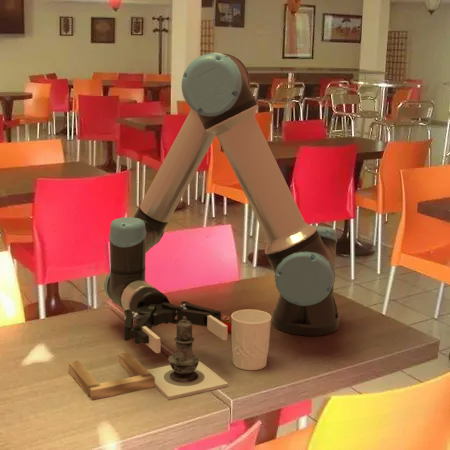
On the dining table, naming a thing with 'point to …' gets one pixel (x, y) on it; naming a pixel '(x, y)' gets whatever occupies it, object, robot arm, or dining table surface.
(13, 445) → the dining table surface
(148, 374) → the block
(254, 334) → the white cup
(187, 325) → the salt shaker
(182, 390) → the cream square board
